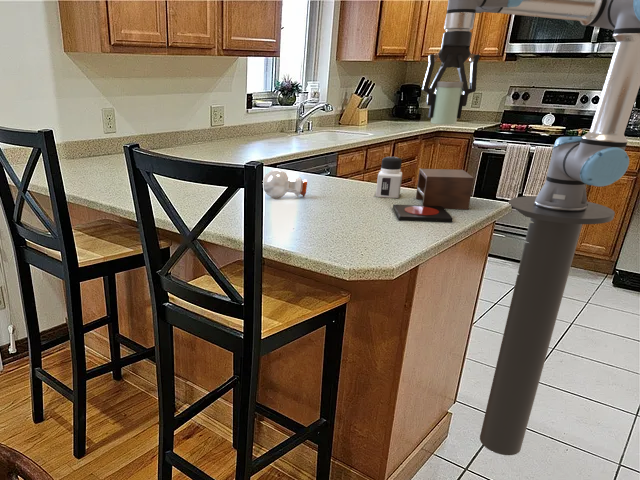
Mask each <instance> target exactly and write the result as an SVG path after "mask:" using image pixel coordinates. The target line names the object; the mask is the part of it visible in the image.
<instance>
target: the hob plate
mask: <svg viewBox="0 0 640 480" xmlns="http://www.w3.org/2000/svg"><path fill="white" fill-rule="evenodd" d="M392 209H393V211H394V214H395V216H396V217H397V219H398V221H400V222H401V221H405V222H431V223H453V217H452V216H451V214H450V213H449V212H448V211H447V209H444V208H443V207H442V206H425V205H422V204H392Z"/></svg>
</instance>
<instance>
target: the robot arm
mask: <svg viewBox="0 0 640 480" xmlns="http://www.w3.org/2000/svg"><path fill="white" fill-rule="evenodd" d="M481 13H492V14H503V15H514V16H525V17H536V18H545V19H546V18H547V19H556V20H568V21H575V22H576V21H577V22H580V25H582V26H588V27H594V28H595V27H596V28H601V29H606V30H611V31H613V33H612V38H613V39H614V40H615V42H616V44H615V47H614V51H613V54H612V57H611V59H610V60H611V61H610V64H609V67H608V70H607V73H606V77H605V80H604V83H603V87H602V90H601V93H600V97H599V100H598V103H597V106H596V108H595V109H596V110H595V114H594V116H593V119H592V123H591V126H590V128H589V131H588V132H587V133H585V134H584V135H582V136H560V137H558V138H556V140H555V142H554V144H553V147H552V151H551V157H550V161H549V166H548V169H547V174H546V179H545V182H544V184H543V186H542V187H541V189H540V190H539V192H538V194H537V195H536V196H537V197H536V200H535V203H534V204H535V206H537V207H540V208H543V209H547V210H553V211H560V212H582V211H585V210H586V207H587V205H588V204H587V202H588V200H587V199H588V198H587V189H586V187H587V186H593V187H606V186H610V185H612V184H614V183H615V182H617V181H618V180H621V178H622V177H623V176H624V175H625V174H626V173H627V170H628V168H629V166H630V157H629V155H628V153H627V151H625V150H626V148H627V145H628V141H629V140H628V139H627V138H626V136H625V131H626V129H627V126H628V122H629V120H630V116H631V113H632V112H633V111H632V110H633V107H634V104H635V101H636V99H637V96H638V92H639V89H640V0H447V8H446V14H445V21H444V26H443V29H444V33H443V34H442V40H441V47H440V50H438V51H439V52H438V53H431V54H429V55H428V56H427V57H428V65H427V68H426V72H425V76H424V80H423V83H422V88H421V90H422V92H425V93H427V97H426V106H429V108H428V115H427V117H428V118H429V119H431V118H432V116H433V110H434V103H435V97H436V94H435V90H436V87H437V83H438V81H441V79H442V78H443V75H444V73H445V71H446V70H447V69H449V68H455V69H456V68H457V72H458V77H459V82H464V84H463V87H462V92H461V98H460V104H459V110H458V115H457V120H458V119H462V111H463V107H466V106H467V104H468V98H469V95H470V94H472V93H476V91H477V79H478V78H477V76H478V62H479V61H480V59H481V55H480V54H475V53H471V49H470V48H471V47H470V46H471V41H472V36H473V33H472V30H473V28H474V24H475V18H476V14H481ZM438 59H439V60H440V62H441V64H440V66H439V69H438V71H437V73H436V74H435V76H434V79H433V81H432V82H431V78H432V74H433V71H434V68H435V62H437V61H438ZM468 59H469V62H470V70H469V71H470V72H469V86H468V80H467V75H466V68H465V63H466V61H467V60H468ZM430 82H431V84H430Z"/></svg>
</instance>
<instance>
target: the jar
mask: <svg viewBox="0 0 640 480" xmlns="http://www.w3.org/2000/svg"><path fill="white" fill-rule="evenodd" d="M463 84H464V82H460V80H459V81H455V80H453V81H452V80H440V81H438V83H437V87H436V88H435V90H434V94H436V97H435V103H434V110H433V116H432V118H430V124H434V125H457V122H458V118H457V115H458V110H459V104H460V98H461V94H462V93H463V92H462V87H463Z"/></svg>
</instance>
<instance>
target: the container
mask: <svg viewBox="0 0 640 480" xmlns="http://www.w3.org/2000/svg"><path fill="white" fill-rule="evenodd" d="M402 162H403V160H402V158H401V157H398V156H385V157H383V158H382V159H381V164H380V165H381V167H380V171H378V173H377V179H376V190H375V196H376V198H388V199H389V198H390V199H399V198H400V194H401V187H402V182H403V181H402V179H403V172H402V170H401V169H402Z"/></svg>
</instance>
